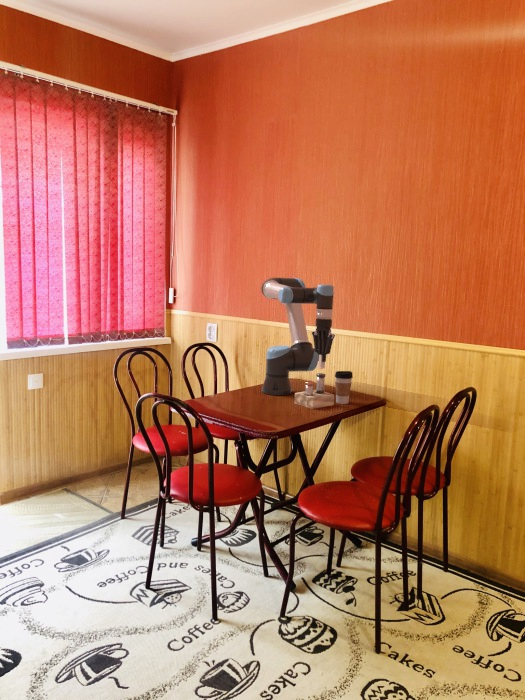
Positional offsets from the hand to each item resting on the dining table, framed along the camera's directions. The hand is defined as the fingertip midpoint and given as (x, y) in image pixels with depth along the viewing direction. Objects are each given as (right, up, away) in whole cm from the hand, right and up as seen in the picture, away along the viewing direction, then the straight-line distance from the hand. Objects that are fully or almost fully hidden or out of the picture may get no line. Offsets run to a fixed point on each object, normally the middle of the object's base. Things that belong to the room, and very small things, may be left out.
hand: (321, 368), depth 267 cm
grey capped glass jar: (-1, -12, +2) cm, 12 cm away
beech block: (-3, -17, +1) cm, 17 cm away
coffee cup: (+11, -17, +6) cm, 21 cm away
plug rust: (-6, -15, -2) cm, 17 cm away
